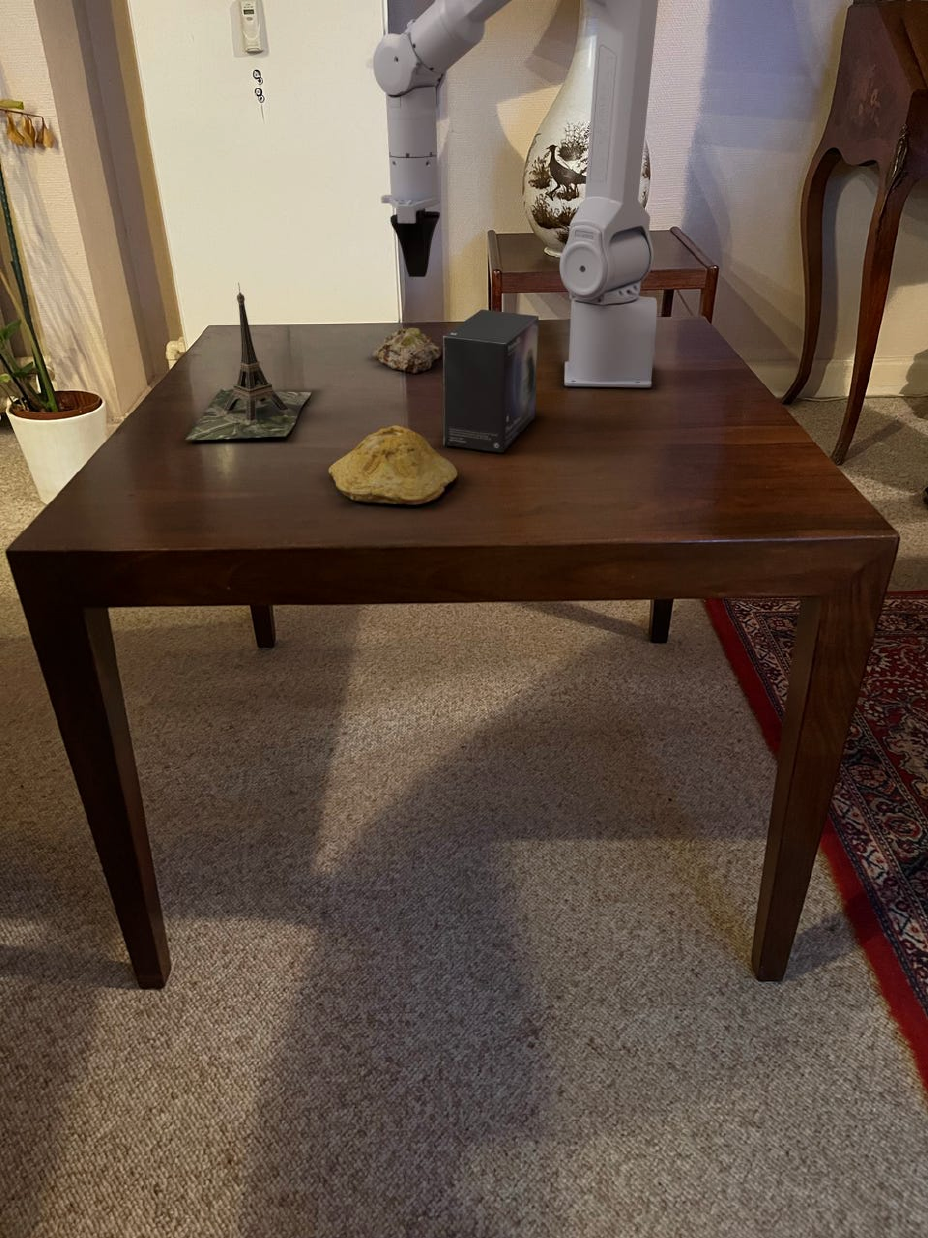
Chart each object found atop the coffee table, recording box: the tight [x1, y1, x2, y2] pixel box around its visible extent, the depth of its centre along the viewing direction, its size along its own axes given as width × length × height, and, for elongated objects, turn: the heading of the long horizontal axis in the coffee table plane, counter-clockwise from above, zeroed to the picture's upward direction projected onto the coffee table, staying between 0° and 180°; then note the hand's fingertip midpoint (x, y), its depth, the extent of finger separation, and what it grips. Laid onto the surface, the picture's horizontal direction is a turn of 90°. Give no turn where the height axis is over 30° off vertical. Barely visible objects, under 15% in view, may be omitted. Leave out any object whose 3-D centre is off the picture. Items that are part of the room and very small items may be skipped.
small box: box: [442, 309, 540, 454], centre depth 89 cm, size 11×6×10 cm, turn 160°
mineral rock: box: [372, 327, 443, 374], centre depth 111 cm, size 11×4×8 cm
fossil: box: [328, 424, 458, 506], centre depth 80 cm, size 11×6×10 cm
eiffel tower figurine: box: [185, 282, 313, 441], centre depth 93 cm, size 15×10×13 cm
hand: (417, 275), depth 117 cm, fingers closed
